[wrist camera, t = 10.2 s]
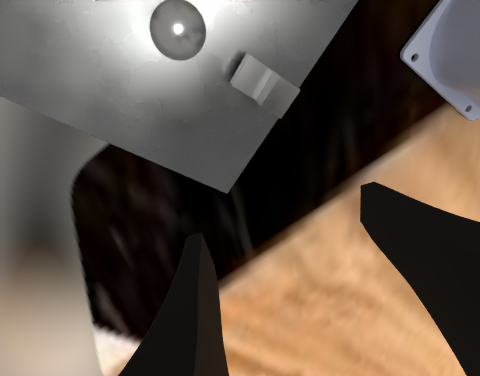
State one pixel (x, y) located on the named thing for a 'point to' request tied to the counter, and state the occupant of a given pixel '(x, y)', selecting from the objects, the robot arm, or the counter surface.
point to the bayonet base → (166, 72)
